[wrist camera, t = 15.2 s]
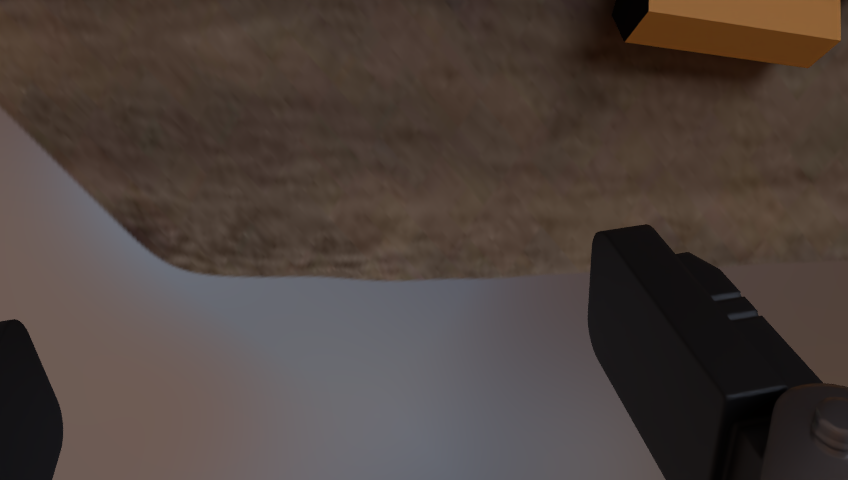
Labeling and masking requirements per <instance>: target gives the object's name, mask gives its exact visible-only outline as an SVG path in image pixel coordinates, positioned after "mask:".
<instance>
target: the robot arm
mask: <svg viewBox="0 0 848 480" xmlns="http://www.w3.org/2000/svg"><path fill="white" fill-rule="evenodd" d="M588 328H589V335H590V339H591V343H592V346H593V350H594V352H595V355H596V357H597V359H598V361H599V362H600V364H601V366H602V368H603V369H604V371H605V373H606V375H607V377H608V378H609V380H610V382H611V384H612V385H613V387H614V389H615V391H616V393H617V394H618V396H619V398H620V400H621V401H622V403H623V405H624V407H625V408H626V410H627V412H628V413H629V415H630V417H631V419H632V421H633V423H634V424H635V426H636V428H637V429H638V431H639V433H640V435H641V437H642V438H643V440H644V442H645V444H646V446H647V447H648V449H649V451H650V453H651V454H652V456H653V458H654V459H655V461H656V463H657V465H658V467H659V469H660V470H661V472H662V474H663V476H664V477H665V479H666V480H848V387H845V386H840V385H835V384H826V383H823V382H822V381H821V380H820V379H819V378H818V377H817V376H816V375H815V374H814V372H813V371H812V370H811V369H810V368H809V367H808V366H807V365H806V364H805V363H804V361H803V360H802V359H801V358H800V357H799V356H798V355H797V354H796V353H795V352H794V351H793V349H792V348H791V347H790V346H789V345H788V344H787V343H786V342H785V341H784V339H783V338H782V337H781V336H780V335H779V334H778V333H777V332H776V331H775V330H774V328H773V327H772V326H771V325H770V324H769V323H768V322H767V321H766V320H765V319H764V317H763V316H758V313H757V310H756V309H755V308H754V306H753V305H752V304H751V303H750V302H749V301H748V300H747V299H746V298H745V297H741V294H740V291H739V290H738V289H737V288H736V287H735V286H734V285H733V283H732V282H731V281H730V280H729V279H728V278H727V277H726V276H725V275H724V274H723V272H722V271H721V270H720V269H718V268H716V267H715V266H713V265H711V264H709V263H707V262H706V261H704V260H702V259H700V258H698V257H697V256H695V255H693V254H691V253H689V252H686V253H680V254H675V253H674V252H673V251H672V250H671V248H670V247H669V246H668V245H667V244H666V243H665V241H664V240H663V239H662V238H661V237H660V235H659V234H658V233H657V232H656V231H655V230H654V228H652V227H651V226H650V225H647V224H645V225H639V226H632V227H626V228H619V229H613V230H606V231H600V232H597V233H596V234H595V236H594V239H593V243H592V254H591V271H590V288H589V304H588ZM62 441H63V422H62V415H61V410H60V407H59V404H58V401H57V398H56V396H55V394H54V391H53V389H52V387H51V384H50V382H49V380H48V377H47V375H46V373H45V370H44V368H43V366H42V363H41V361H40V359H39V357H38V354H37V352H36V350H35V347H34V345H33V343H32V340H31V338H30V336H29V333H28V331H27V329H26V328H25V326H24V325H23V324H22V323H21V322H20V321H18V320H15V319H14V320H7V321H1V322H0V480H52V478H53V475H54V472H55V468H56V465H57V461H58V458H59V454H60V451H61V447H62Z"/></svg>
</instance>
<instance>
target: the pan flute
mask: <svg viewBox="0 0 848 480" xmlns="http://www.w3.org/2000/svg"><path fill="white" fill-rule="evenodd" d="M612 17H613V19H614V21H615V23H616V25H617V27H618V29H619V32H620V34H621V36H622V38H623V40H624V42H627V43H634V44H641V45H648V46H655V47H662V48H669V49H676V50H683V51H690V52H697V53H704V54H711V55H719V56H726V57H733V58H740V59H747V60H754V61H761V62H768V63H775V64H782V65H789V66H796V67H803V68H809V67H810V66H811V65H813V64H814V63H815V62H816V61H817V60H819V59H820V58H821V57H822V56H823V55H824V54H826V53H827V52H828V51H829V50H830V49H832V48H833V47H834V46H835V45H836V44H837V43H839V42H840V41H841V8H840V0H616V3H615V6H614V9H613V13H612Z"/></svg>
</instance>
